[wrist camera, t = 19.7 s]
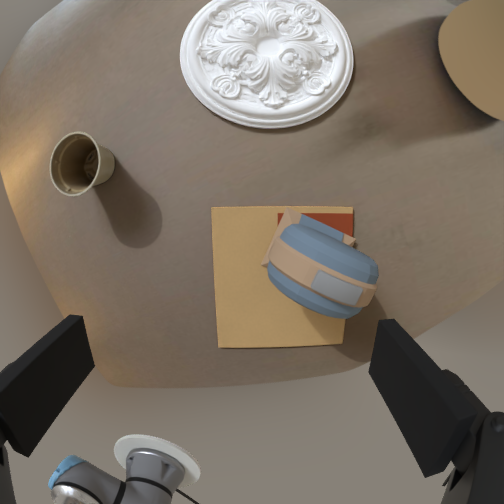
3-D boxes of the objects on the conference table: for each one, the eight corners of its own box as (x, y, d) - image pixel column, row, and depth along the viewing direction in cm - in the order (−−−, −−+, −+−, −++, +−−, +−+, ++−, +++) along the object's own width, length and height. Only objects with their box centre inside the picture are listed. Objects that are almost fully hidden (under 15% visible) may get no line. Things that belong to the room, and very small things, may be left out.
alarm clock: (254, 262, 47) (256, 307, 30) (280, 204, 45) (297, 217, 28) (334, 294, 49) (371, 349, 31) (360, 241, 47) (413, 273, 29)
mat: (341, 342, 52) (342, 343, 51) (218, 345, 52) (218, 347, 51) (352, 206, 46) (353, 207, 45) (211, 207, 46) (211, 207, 45)
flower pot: (132, 145, 44) (108, 139, 35) (115, 200, 46) (89, 204, 37) (87, 132, 43) (60, 126, 35) (72, 184, 45) (43, 187, 37)
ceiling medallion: (181, -4, 37) (177, -13, 34) (338, -9, 37) (342, -17, 34) (183, 136, 44) (178, 133, 41) (361, 128, 43) (368, 125, 40)
